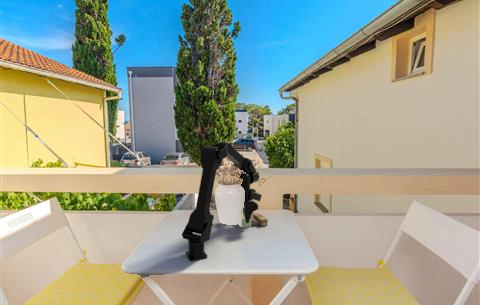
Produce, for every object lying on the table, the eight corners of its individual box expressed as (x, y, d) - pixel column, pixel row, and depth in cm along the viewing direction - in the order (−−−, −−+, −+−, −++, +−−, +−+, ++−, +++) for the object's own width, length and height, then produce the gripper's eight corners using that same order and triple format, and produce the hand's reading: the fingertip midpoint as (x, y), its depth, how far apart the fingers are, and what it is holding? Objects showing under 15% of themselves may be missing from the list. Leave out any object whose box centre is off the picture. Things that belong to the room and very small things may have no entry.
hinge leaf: (258, 225, 130) (258, 219, 130) (241, 228, 127) (241, 222, 127) (251, 220, 137) (251, 214, 136) (235, 223, 133) (235, 217, 133)
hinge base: (267, 225, 131) (267, 219, 130) (254, 227, 128) (255, 221, 128) (257, 218, 140) (257, 212, 139) (245, 220, 137) (245, 214, 137)
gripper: (269, 189, 124) (268, 224, 126) (250, 180, 141) (250, 211, 143) (246, 192, 119) (245, 227, 121) (229, 182, 136) (229, 214, 138)
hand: (243, 219), depth 131 cm, fingers open, 9 cm apart
